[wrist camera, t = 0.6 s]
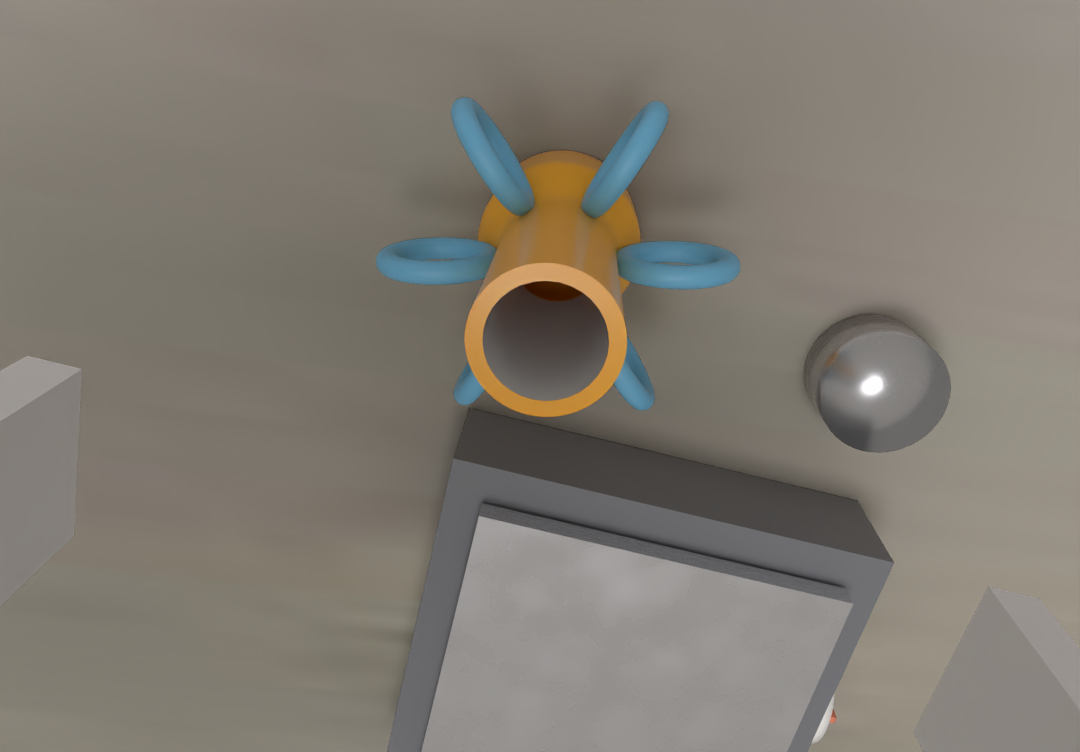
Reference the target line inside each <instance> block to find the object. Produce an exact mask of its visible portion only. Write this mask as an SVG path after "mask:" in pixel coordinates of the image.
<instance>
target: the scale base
mask: <svg viewBox="0 0 1080 752" xmlns="http://www.w3.org/2000/svg"><path fill="white" fill-rule="evenodd" d="M482 503H483V504H488V505H492V506H496V507H500V508H505V509H509V510H513V511H517V512H522V513H526V514H530V515H534V516H539V517H543V518H547V519H551V520H556V521H560V522H564V523H568V524H573V525H577V526H581V527H585V528H590V529H594V530H598V531H602V532H607V533H611V534H615V535H619V536H624V537H628V538H632V539H637V540H641V541H645V542H649V543H654V544H658V545H662V546H666V547H671V548H675V549H679V550H683V551H688V552H692V553H696V554H700V555H705V556H709V557H713V558H717V559H722V560H726V561H730V562H734V563H739V564H743V565H747V566H751V567H756V568H760V569H764V570H768V571H773V572H777V573H781V574H785V575H790V576H794V577H798V578H802V579H807V580H811V581H815V582H820V583H824V584H828V585H832V586H837V587H841V588H845V589H847V591H848V593H849V596H850V598H851V600H852V602H853V606H852V608H851V611H850V613H849V615H848V617H847V619H846V622H845V624H844V626H843V628H842V631H841V633H840V635H839V637H838V640H837V642H836V644H835V646H834V648H833V651H832V653H831V655H830V657H829V660H828V662H827V664H826V666H825V669H824V671H823V673H822V675H821V677H820V680H819V682H818V684H817V686H816V689H815V691H814V693H813V695H812V698H811V700H810V702H809V704H808V706H807V709H806V711H805V713H804V715H803V718H802V720H801V722H800V724H799V727H798V729H797V731H796V733H795V735H794V738H793V740H792V742H791V744H790V747H789V749H788V751H787V752H807V751H808V749H809V747H810V745H811V744H814V743H816V742H818V741H819V740H820V739H821V738H822V737H823V735H824V734H825V732H826V730H827V727H828V725H829V722H831V723H834V722H835V720H836V715H835V712H834V710H833V704H834V692H835V690H836V688H837V686H838V684H839V682H840V679H841V677H842V675H843V673H844V671H845V669H846V666H847V664H848V662H849V660H850V658H851V655H852V653H853V651H854V649H855V647H856V645H857V642H858V640H859V638H860V636H861V634H862V632H863V629H864V627H865V625H866V623H867V621H868V618H869V616H870V614H871V612H872V610H873V608H874V605H875V603H876V601H877V599H878V597H879V595H880V592H881V590H882V588H883V586H884V584H885V581H886V579H887V577H888V575H889V573H890V571H891V568H892V566H893V564H894V562H893V560H892V558H891V557H890V555H889V553H888V552H887V550H886V548H885V547H884V545H883V543H882V542H881V540H880V538H879V536H878V535H877V533H876V531H875V530H874V528H873V526H872V525H871V523H870V521H869V520H868V518H867V516H866V515H865V513H864V511H863V510H862V508H861V506H860V505H859V503H858V501H856V500H852V499H847V498H843V497H839V496H835V495H831V494H827V493H822V492H818V491H814V490H810V489H806V488H801V487H797V486H793V485H789V484H785V483H781V482H776V481H772V480H768V479H764V478H760V477H755V476H751V475H747V474H743V473H739V472H735V471H730V470H726V469H722V468H718V467H714V466H709V465H705V464H701V463H697V462H693V461H689V460H684V459H680V458H676V457H672V456H668V455H663V454H659V453H655V452H651V451H647V450H643V449H638V448H634V447H630V446H626V445H622V444H617V443H613V442H609V441H605V440H601V439H597V438H592V437H588V436H584V435H580V434H576V433H571V432H567V431H563V430H559V429H555V428H551V427H546V426H542V425H538V424H534V423H530V422H525V421H521V420H517V419H513V418H509V417H505V416H500V415H496V414H492V413H488V412H484V411H479V410H475V409H471V408H469V411H468V414H467V417H466V420H465V423H464V426H463V429H462V432H461V436H460V439H459V442H458V445H457V448H456V451H455V454H454V457H453V461H452V466H451V470H450V475H449V479H448V484H447V488H446V492H445V497H444V501H443V506H442V510H441V515H440V519H439V523H438V528H437V532H436V537H435V541H434V546H433V550H432V555H431V559H430V563H429V568H428V572H427V577H426V581H425V586H424V590H423V594H422V599H421V603H420V608H419V612H418V617H417V621H416V626H415V630H414V634H413V639H412V643H411V648H410V652H409V657H408V661H407V665H406V670H405V674H404V679H403V683H402V688H401V692H400V697H399V701H398V705H397V710H396V714H395V719H394V723H393V728H392V732H391V736H390V741H389V745H388V750H387V752H421V750H422V746H423V742H424V738H425V734H426V730H427V726H428V722H429V717H430V713H431V709H432V705H433V701H434V697H435V693H436V689H437V685H438V681H439V677H440V672H441V668H442V664H443V660H444V656H445V652H446V648H447V644H448V640H449V636H450V632H451V627H452V623H453V619H454V615H455V611H456V607H457V603H458V599H459V595H460V591H461V587H462V582H463V578H464V574H465V570H466V566H467V562H468V558H469V554H470V550H471V546H472V542H473V537H474V533H475V529H476V525H477V521H478V517H479V513H480V509H481V505H482Z"/></svg>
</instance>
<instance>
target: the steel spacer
mask: <svg viewBox="0 0 1080 752" xmlns="http://www.w3.org/2000/svg"><path fill="white" fill-rule="evenodd" d="M804 383H805V387H806V391H807V393H808V395H809V397H810V399H811V401H812V402H813V404H814V405H815V407H816V409H817V410H818V412H819V413H820V415H821V416H822V418H823V420H824V421H825V423H826V424H827V426H828V427H829V429H830V430H831V432H832V433H833V434H834V435H835V436H836V437H837V438H838V439H839V440H841V441H842V442H843V443H845V444H847V445H848V446H851V447H853V448H855V449H858V450H862V451H867V452H878V453H879V452H889V451H895V450H898V449H902V448H905V447H907V446H909V445H912V444H913V443H915V442H917V441H919V440H920V439H922V438H923V437H924V436H926V435H927V434H928V433H929V432H930V431H931V430H932V429H933V428H934V427H935V426H936V425H937V423H938V422H939V421H940V419H941V418H942V416H943V414H944V412H945V410H946V408H947V405H948V402H949V398H950V390H951V384H950V377H949V372H948V370H947V367H946V365H945V363H944V361H943V360H942V358H941V357H940V356H939V355H938V353H937V352H936V351H935V350H933V349H932V348H931V347H930V346H929V345H928V344H927V343H925V342H924V341H923V340H922V339H921V338H920V337H919V336H918V335H916V334H915V333H914V332H913V331H912V330H911V329H910V328H908V327H907V326H906V325H905V324H903V323H902V322H900V321H898V320H896V319H894V318H892V317H889V316H886V315H881V314H860V315H855V316H851V317H848V318H845V319H843V320H841V321H839V322H837V323H835V324H834V325H832V326H830V327H829V328H828V329H827V330H825V331H824V332H823V333H822V334H821V335H820V336H819V337H818V339H817V340H816V341H815V342H814V344H813V345H812V347H811V349H810V351H809V353H808V355H807V358H806V361H805V366H804Z"/></svg>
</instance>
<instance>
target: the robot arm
mask: <svg viewBox="0 0 1080 752" xmlns="http://www.w3.org/2000/svg"><path fill="white" fill-rule="evenodd" d="M81 384H82V369H80V368H76V367H72V366H68V365H64V364H60V363H55V362H51V361H47V360H43V359H39V358H35V357H30V356H26V357H24V358H22V359H20V360H18V361H17V362H15V363H13V364H11V365H9V366H8V367H6V368H4V369H2V370H0V607H1V606H2V605H3V604H4V603H5V602H6V601H7V600H8V599H9V598H10V597H11V596H12V595H13V594H14V593H15V592H16V591H17V590H18V589H19V588H21V587H22V586H23V585H24V584H25V583H26V582H27V581H28V580H29V579H30V578H31V577H32V576H33V575H34V574H35V573H36V572H37V571H38V570H39V569H40V568H41V567H42V566H44V565H45V564H46V563H47V562H48V561H49V560H50V559H51V558H52V557H53V556H54V555H55V554H56V553H57V552H58V551H59V550H60V549H61V548H62V547H63V546H64V545H66V544H67V543H68V542H69V541H70V540H71V539H72V538H73V537H74V529H75V509H76V488H77V467H78V446H79V426H80V405H81ZM914 734H915V736H916V738H917V740H918V742H919V744H920V746H921V748H922V751H923V752H1080V648H1079V647H1078V646H1077V644H1076V643H1075V642H1074V641H1073V639H1072V638H1071V637H1070V636H1069V635H1068V633H1067V632H1066V631H1065V630H1064V628H1063V627H1062V626H1061V625H1060V623H1059V622H1058V621H1057V620H1056V619H1055V617H1054V616H1053V615H1052V614H1051V612H1050V611H1049V610H1048V609H1047V608H1046V606H1045V605H1044V604H1043V603H1042V601H1041V600H1040V599H1039V598H1035V597H1031V596H1026V595H1022V594H1018V593H1014V592H1010V591H1006V590H1001V589H997V588H993V587H989V586H988V588H987V590H986V592H985V594H984V596H983V598H982V600H981V602H980V604H979V606H978V608H977V610H976V612H975V613H974V615H973V617H972V619H971V621H970V623H969V625H968V627H967V629H966V631H965V633H964V635H963V637H962V639H961V641H960V643H959V644H958V646H957V648H956V650H955V652H954V654H953V656H952V658H951V660H950V662H949V664H948V666H947V668H946V670H945V672H944V674H943V675H942V677H941V679H940V681H939V683H938V685H937V687H936V689H935V691H934V693H933V695H932V697H931V699H930V701H929V703H928V705H927V706H926V708H925V710H924V712H923V714H922V716H921V718H920V720H919V722H918V724H917V726H916V728H915V730H914Z"/></svg>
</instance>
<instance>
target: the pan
mask: <svg viewBox="0 0 1080 752" xmlns="http://www.w3.org/2000/svg"><path fill="white" fill-rule="evenodd" d="M852 606H853V602H852V600H851V598H850V596H849V593H848V591H847V589H845V588H841V587H837V586H832V585H828V584H824V583H820V582H815V581H811V580H807V579H802V578H798V577H794V576H790V575H785V574H781V573H777V572H773V571H768V570H764V569H760V568H756V567H751V566H747V565H743V564H739V563H734V562H730V561H726V560H722V559H717V558H713V557H709V556H705V555H700V554H696V553H692V552H688V551H683V550H679V549H675V548H671V547H666V546H662V545H658V544H654V543H649V542H645V541H641V540H637V539H632V538H628V537H624V536H619V535H615V534H611V533H607V532H602V531H598V530H594V529H590V528H585V527H581V526H577V525H573V524H568V523H564V522H560V521H556V520H551V519H547V518H543V517H539V516H534V515H530V514H526V513H522V512H517V511H513V510H509V509H505V508H500V507H496V506H492V505H488V504H483V503H482V505H481V509H480V513H479V517H478V521H477V525H476V529H475V533H474V537H473V542H472V546H471V550H470V554H469V558H468V562H467V566H466V570H465V574H464V578H463V582H462V587H461V591H460V595H459V599H458V603H457V607H456V611H455V615H454V619H453V623H452V627H451V632H450V636H449V640H448V644H447V648H446V652H445V656H444V660H443V664H442V668H441V672H440V677H439V681H438V685H437V689H436V693H435V697H434V701H433V705H432V709H431V713H430V717H429V722H428V726H427V730H426V734H425V738H424V742H423V746H422V750H421V752H787V751H788V749H789V747H790V744H791V742H792V740H793V738H794V735H795V733H796V731H797V729H798V727H799V724H800V722H801V720H802V718H803V715H804V713H805V711H806V709H807V706H808V704H809V702H810V700H811V698H812V695H813V693H814V691H815V689H816V686H817V684H818V682H819V680H820V677H821V675H822V673H823V671H824V669H825V666H826V664H827V662H828V660H829V657H830V655H831V653H832V651H833V648H834V646H835V644H836V642H837V640H838V637H839V635H840V633H841V631H842V628H843V626H844V624H845V622H846V619H847V617H848V615H849V613H850V611H851V608H852Z"/></svg>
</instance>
